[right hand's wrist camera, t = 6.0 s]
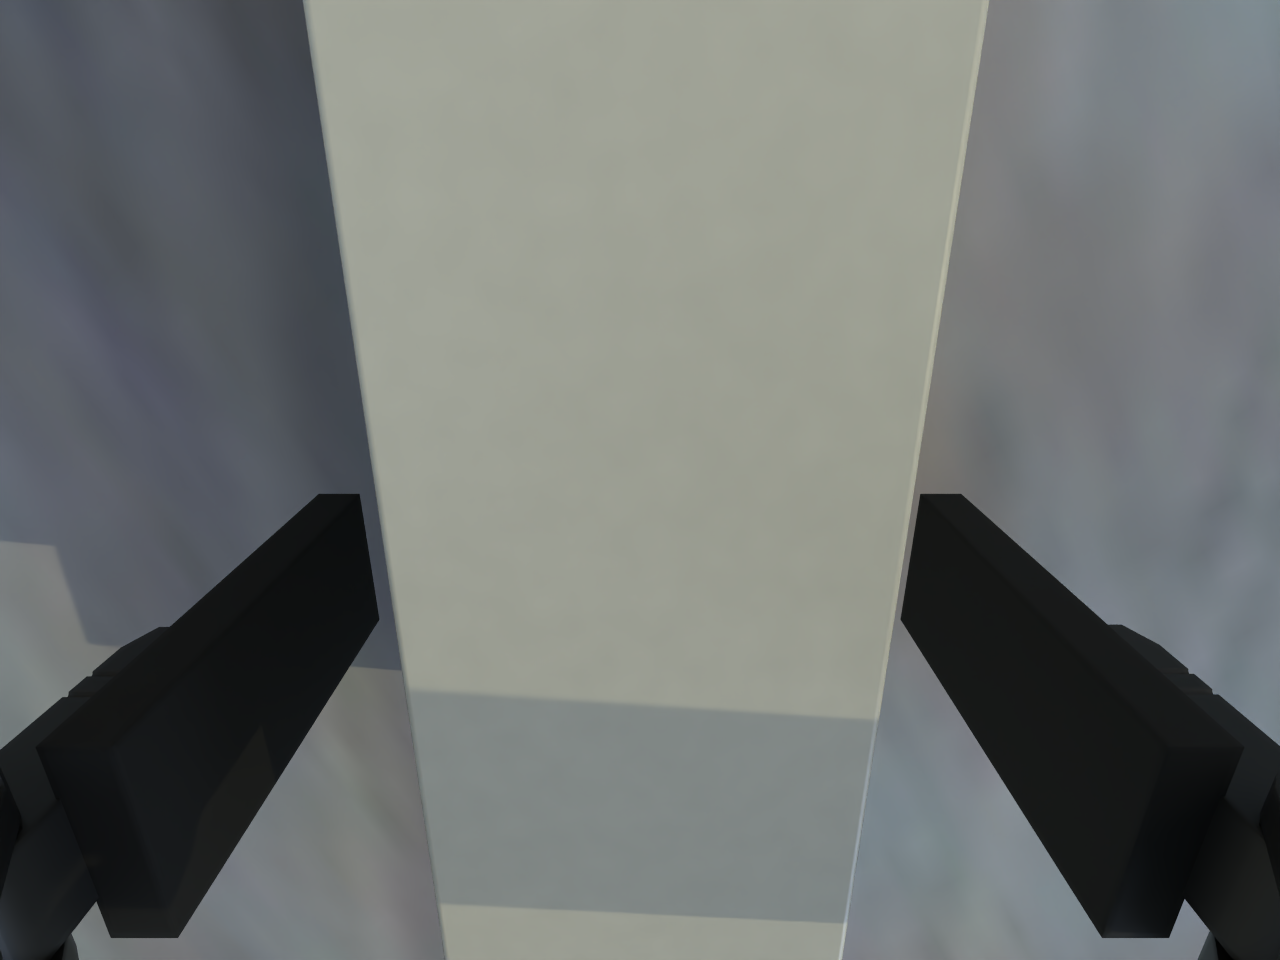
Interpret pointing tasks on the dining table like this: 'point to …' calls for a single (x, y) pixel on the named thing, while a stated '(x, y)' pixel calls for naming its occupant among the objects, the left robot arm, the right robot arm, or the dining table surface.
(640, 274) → the bar
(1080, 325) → the dining table surface
